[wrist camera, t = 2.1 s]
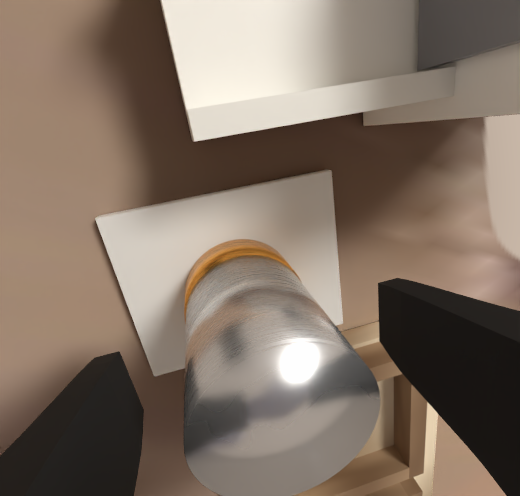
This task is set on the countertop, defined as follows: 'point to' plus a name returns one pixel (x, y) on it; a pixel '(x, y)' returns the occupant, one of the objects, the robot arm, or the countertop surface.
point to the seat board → (388, 433)
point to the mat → (209, 235)
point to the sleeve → (267, 378)
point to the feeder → (342, 61)
